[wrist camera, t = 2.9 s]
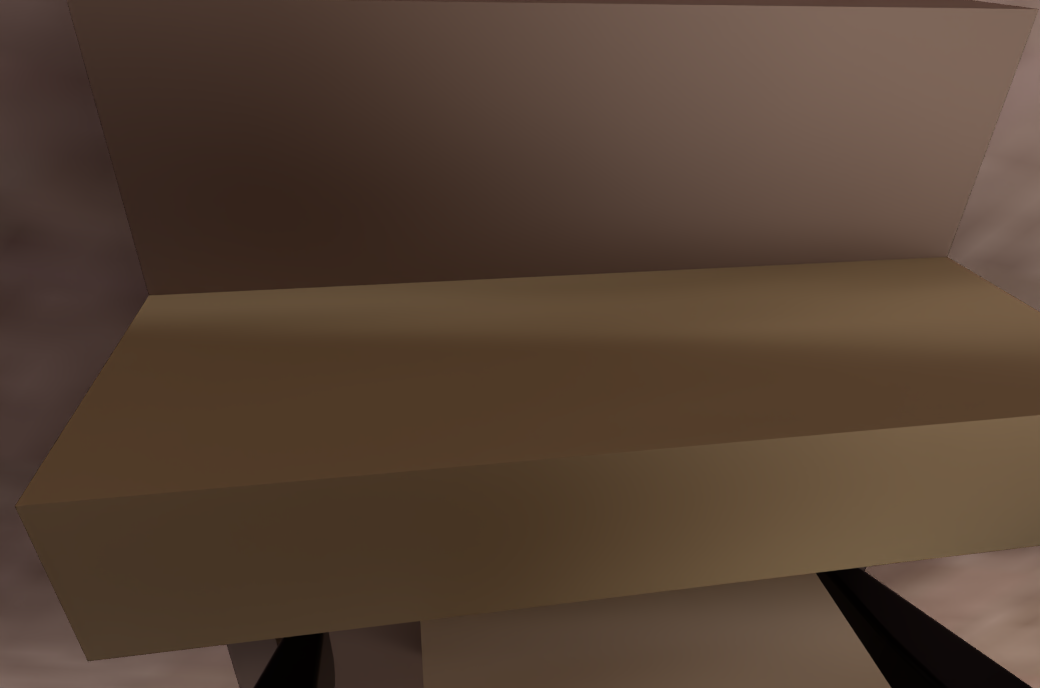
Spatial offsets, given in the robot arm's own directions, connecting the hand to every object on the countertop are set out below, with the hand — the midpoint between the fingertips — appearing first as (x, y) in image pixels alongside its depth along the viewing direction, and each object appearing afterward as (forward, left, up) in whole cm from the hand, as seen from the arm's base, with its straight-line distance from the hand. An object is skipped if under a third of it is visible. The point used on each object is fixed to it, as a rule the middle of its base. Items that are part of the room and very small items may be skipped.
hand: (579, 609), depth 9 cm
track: (-3, 0, -2) cm, 4 cm away
